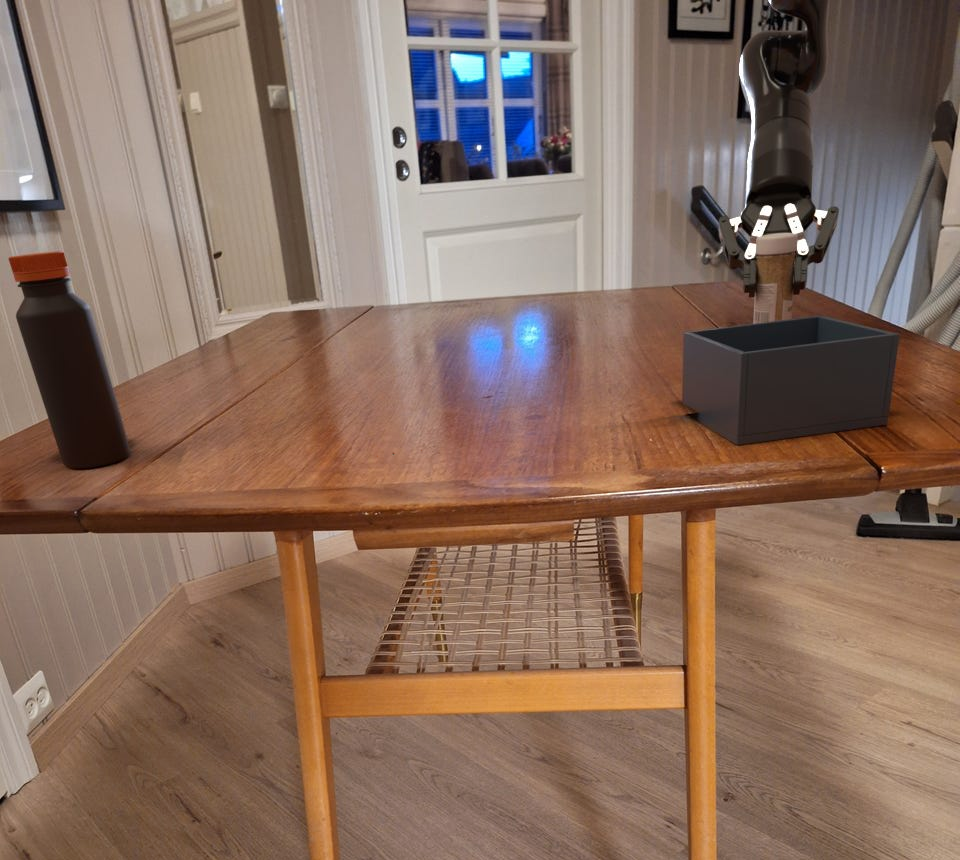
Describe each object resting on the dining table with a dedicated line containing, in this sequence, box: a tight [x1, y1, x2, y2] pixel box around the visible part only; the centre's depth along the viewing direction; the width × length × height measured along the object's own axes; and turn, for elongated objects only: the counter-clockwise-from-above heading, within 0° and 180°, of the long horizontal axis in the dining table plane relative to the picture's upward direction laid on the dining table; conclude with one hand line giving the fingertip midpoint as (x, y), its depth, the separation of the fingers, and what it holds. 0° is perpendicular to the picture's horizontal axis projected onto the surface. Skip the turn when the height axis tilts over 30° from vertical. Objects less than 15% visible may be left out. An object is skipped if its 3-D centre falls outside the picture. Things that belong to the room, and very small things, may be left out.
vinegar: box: [7, 250, 131, 470], centre depth 87 cm, size 7×7×20 cm
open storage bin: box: [681, 315, 900, 446], centre depth 81 cm, size 14×13×8 cm
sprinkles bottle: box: [753, 233, 798, 324], centre depth 102 cm, size 5×5×14 cm
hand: (774, 291), depth 100 cm, fingers closed on sprinkles bottle, 4 cm apart
